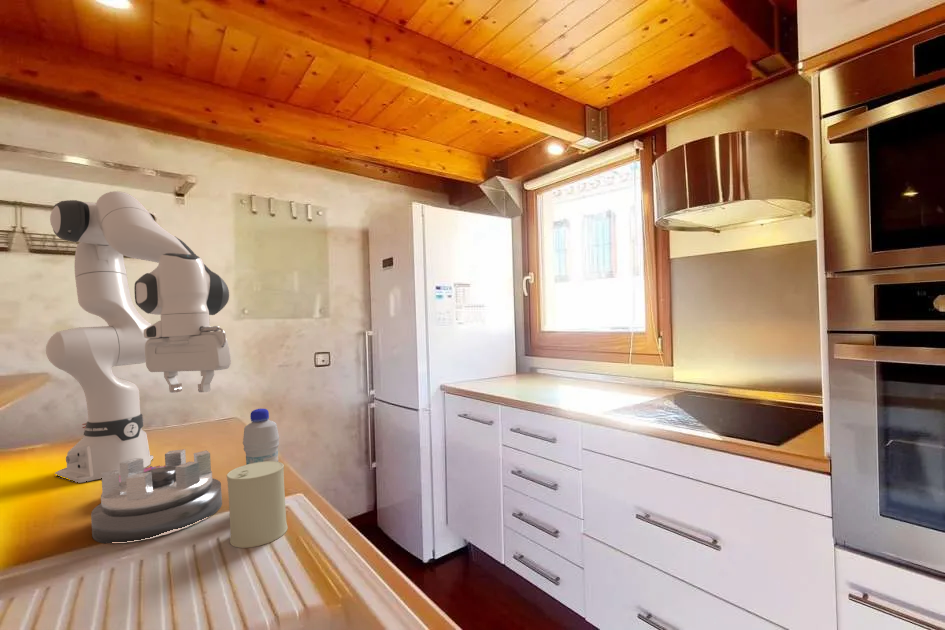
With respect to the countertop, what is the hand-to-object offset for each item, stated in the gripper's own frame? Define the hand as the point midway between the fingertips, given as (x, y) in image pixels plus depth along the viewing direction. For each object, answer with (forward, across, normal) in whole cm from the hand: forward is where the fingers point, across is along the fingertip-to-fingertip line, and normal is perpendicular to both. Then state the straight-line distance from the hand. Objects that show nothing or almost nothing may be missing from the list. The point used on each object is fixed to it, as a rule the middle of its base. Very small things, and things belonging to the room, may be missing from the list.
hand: (189, 392), depth 96 cm
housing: (+23, 0, +8) cm, 25 cm away
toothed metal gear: (+19, 0, +8) cm, 21 cm away
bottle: (+24, -18, 0) cm, 30 cm away
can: (+24, -26, +10) cm, 36 cm away
